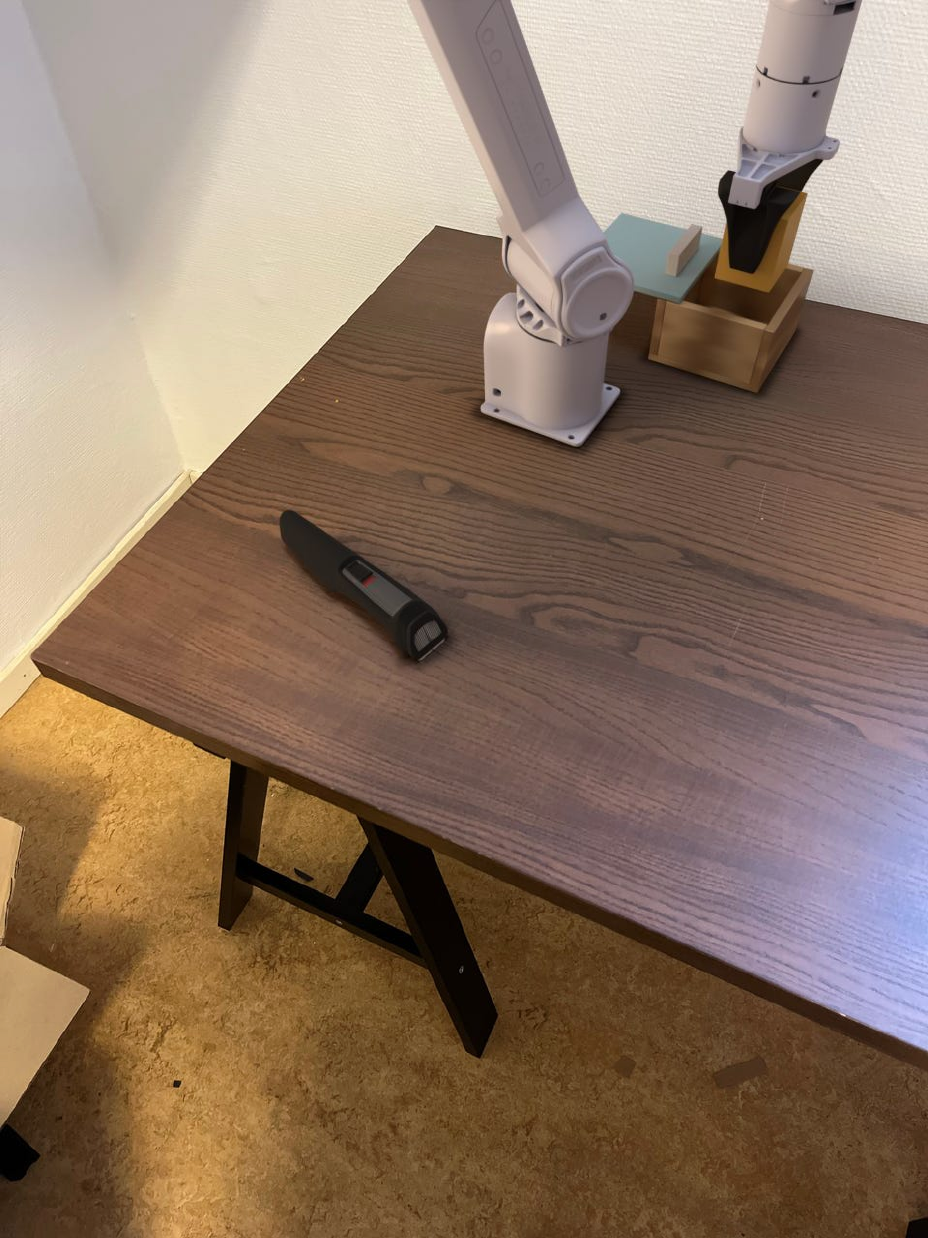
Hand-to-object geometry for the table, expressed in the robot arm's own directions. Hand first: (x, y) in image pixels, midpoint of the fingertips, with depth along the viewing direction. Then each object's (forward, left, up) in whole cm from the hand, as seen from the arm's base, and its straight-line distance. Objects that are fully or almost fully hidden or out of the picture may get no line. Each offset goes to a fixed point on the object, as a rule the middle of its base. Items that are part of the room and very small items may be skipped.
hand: (753, 253), depth 70 cm
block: (0, 0, -2) cm, 2 cm away
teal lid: (-9, 0, -3) cm, 9 cm away
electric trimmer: (-13, -40, -9) cm, 43 cm away
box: (-1, 0, -9) cm, 9 cm away
